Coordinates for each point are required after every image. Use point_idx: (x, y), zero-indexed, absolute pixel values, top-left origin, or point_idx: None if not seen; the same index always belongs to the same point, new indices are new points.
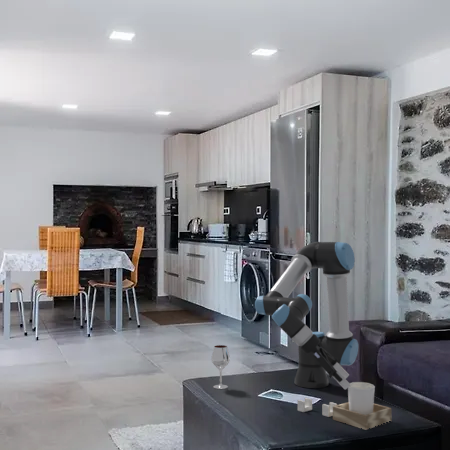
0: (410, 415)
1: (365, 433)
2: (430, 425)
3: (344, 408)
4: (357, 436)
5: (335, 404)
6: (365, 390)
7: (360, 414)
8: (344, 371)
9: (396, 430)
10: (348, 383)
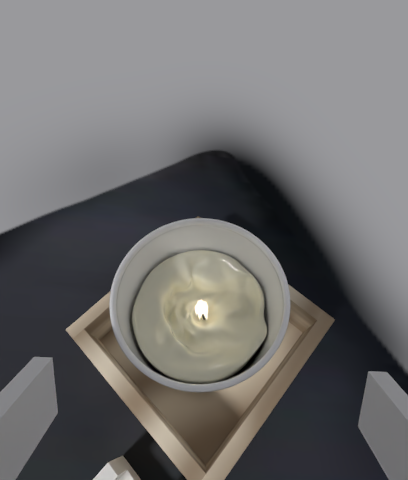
0: (135, 187)
1: (354, 339)
2: (220, 158)
3: (161, 416)
4: (403, 374)
5: (117, 475)
6: (282, 275)
7: (316, 341)
8: (17, 409)
9: (287, 238)
10: (400, 391)
